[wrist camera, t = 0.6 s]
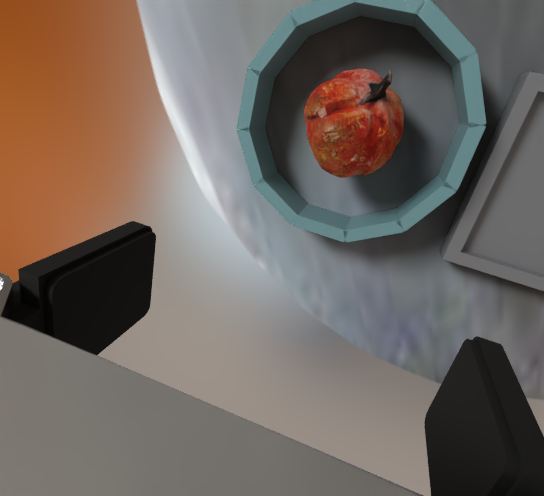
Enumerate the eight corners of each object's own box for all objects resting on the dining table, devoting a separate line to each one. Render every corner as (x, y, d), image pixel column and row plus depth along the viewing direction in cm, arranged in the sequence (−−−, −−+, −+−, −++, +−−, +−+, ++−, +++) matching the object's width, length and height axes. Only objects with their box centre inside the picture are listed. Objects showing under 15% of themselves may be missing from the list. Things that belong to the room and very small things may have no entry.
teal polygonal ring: (281, -16, 28) (265, -34, 25) (515, 29, 25) (535, 16, 22) (240, 193, 35) (223, 203, 32) (419, 250, 32) (423, 267, 28)
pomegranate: (366, 177, 34) (459, 119, 25) (309, 212, 30) (392, 159, 21) (323, 107, 33) (401, 22, 24) (261, 134, 30) (325, 48, 21)
